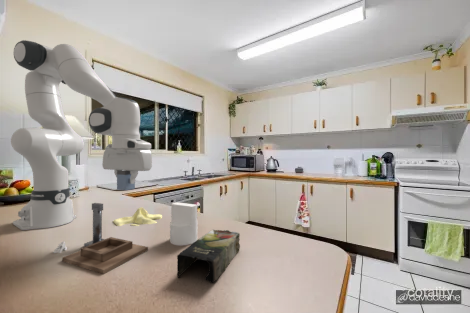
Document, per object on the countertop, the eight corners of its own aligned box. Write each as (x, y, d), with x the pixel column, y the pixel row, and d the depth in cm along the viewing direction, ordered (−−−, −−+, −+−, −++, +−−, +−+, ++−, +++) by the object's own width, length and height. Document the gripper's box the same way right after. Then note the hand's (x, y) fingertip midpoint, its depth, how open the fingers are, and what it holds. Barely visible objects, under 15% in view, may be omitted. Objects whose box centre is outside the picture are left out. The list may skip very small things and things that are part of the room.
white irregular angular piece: (62, 254, 62) (62, 243, 62) (52, 255, 62) (52, 244, 62) (68, 249, 65) (68, 239, 65) (58, 250, 65) (58, 240, 65)
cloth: (103, 226, 87) (103, 211, 87) (134, 214, 105) (134, 201, 105) (151, 231, 82) (151, 215, 82) (175, 217, 100) (175, 204, 100)
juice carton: (212, 244, 69) (212, 225, 69) (241, 249, 66) (241, 229, 66) (175, 279, 50) (175, 253, 50) (214, 288, 47) (214, 260, 46)
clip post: (84, 246, 67) (84, 204, 67) (99, 240, 71) (99, 201, 71) (94, 248, 65) (95, 206, 65) (110, 242, 69) (110, 202, 69)
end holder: (62, 261, 57) (62, 250, 57) (110, 241, 70) (110, 232, 70) (103, 274, 51) (103, 261, 51) (147, 250, 64) (148, 240, 64)
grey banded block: (116, 189, 75) (117, 170, 75) (126, 188, 78) (126, 170, 78) (125, 190, 73) (125, 171, 73) (134, 188, 77) (134, 170, 77)
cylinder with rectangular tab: (202, 237, 74) (202, 203, 74) (186, 247, 66) (186, 208, 66) (181, 233, 78) (182, 200, 78) (164, 242, 70) (164, 205, 70)
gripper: (97, 143, 77) (97, 182, 77) (140, 143, 69) (140, 186, 69) (113, 144, 82) (113, 180, 83) (155, 144, 75) (154, 183, 75)
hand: (126, 183), depth 76 cm, fingers closed on grey banded block, 4 cm apart
